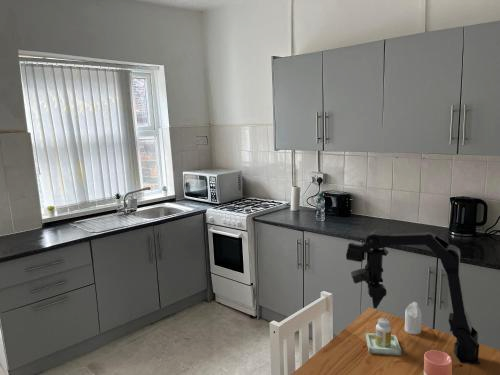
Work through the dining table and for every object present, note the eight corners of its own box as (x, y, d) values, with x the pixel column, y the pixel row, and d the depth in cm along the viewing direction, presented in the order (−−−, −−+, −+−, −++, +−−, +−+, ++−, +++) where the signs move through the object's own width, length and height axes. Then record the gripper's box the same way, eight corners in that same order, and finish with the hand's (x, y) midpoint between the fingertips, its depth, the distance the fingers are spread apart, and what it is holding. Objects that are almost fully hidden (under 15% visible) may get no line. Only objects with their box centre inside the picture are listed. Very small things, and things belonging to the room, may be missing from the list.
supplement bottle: (390, 341, 142) (390, 317, 140) (391, 349, 137) (392, 325, 135) (374, 339, 143) (375, 316, 142) (375, 347, 138) (376, 323, 137)
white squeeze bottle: (406, 305, 146) (404, 298, 152) (405, 333, 148) (403, 326, 154) (423, 306, 145) (420, 299, 150) (422, 335, 147) (419, 327, 152)
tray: (395, 339, 144) (395, 334, 144) (401, 355, 134) (401, 350, 134) (365, 337, 146) (365, 332, 146) (369, 353, 136) (369, 348, 136)
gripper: (350, 255, 155) (349, 290, 157) (355, 272, 136) (354, 313, 139) (378, 256, 153) (377, 292, 155) (387, 274, 135) (385, 314, 137)
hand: (373, 302), depth 147 cm, fingers open, 9 cm apart
